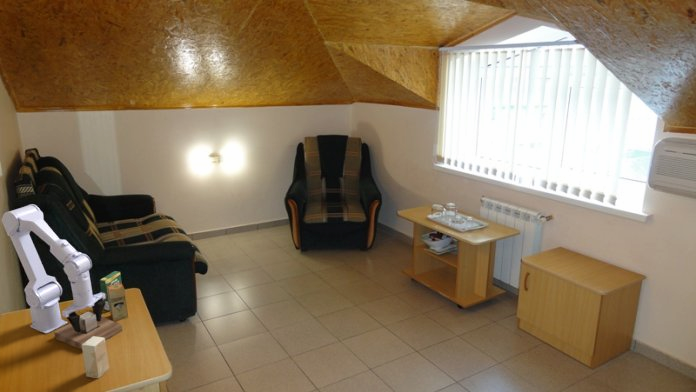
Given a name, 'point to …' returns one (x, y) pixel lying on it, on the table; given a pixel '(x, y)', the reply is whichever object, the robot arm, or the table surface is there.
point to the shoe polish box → (117, 301)
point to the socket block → (77, 339)
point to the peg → (88, 322)
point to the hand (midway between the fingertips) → (87, 325)
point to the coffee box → (106, 281)
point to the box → (95, 357)
